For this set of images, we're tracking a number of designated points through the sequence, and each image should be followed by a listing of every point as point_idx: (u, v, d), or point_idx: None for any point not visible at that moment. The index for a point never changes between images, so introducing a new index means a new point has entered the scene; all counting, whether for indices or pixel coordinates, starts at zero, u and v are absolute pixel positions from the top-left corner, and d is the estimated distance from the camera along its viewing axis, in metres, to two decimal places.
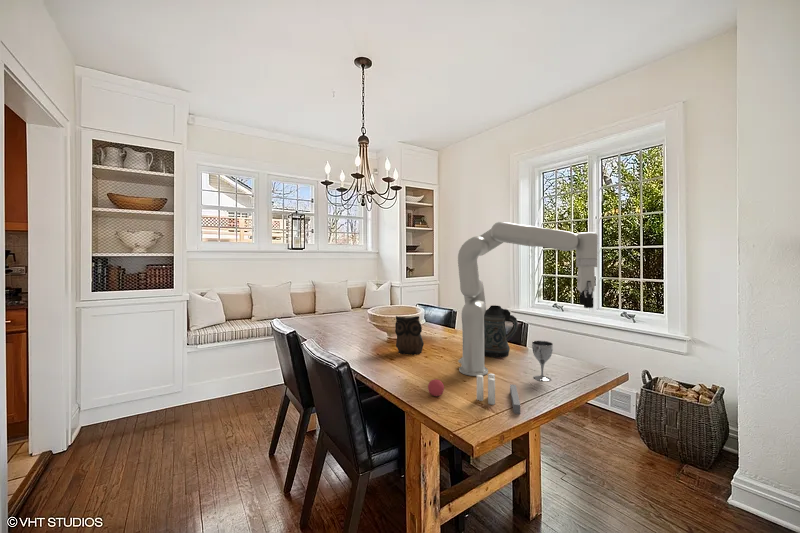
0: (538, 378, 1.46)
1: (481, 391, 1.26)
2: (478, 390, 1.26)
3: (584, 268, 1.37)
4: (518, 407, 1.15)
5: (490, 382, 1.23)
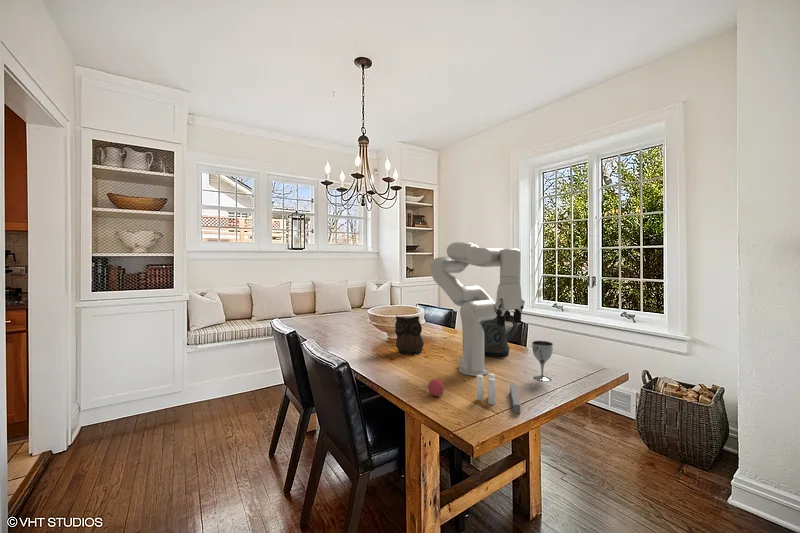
0: (538, 378, 1.46)
1: (481, 391, 1.26)
2: (478, 390, 1.26)
3: (499, 285, 1.35)
4: (518, 407, 1.15)
5: (490, 382, 1.23)
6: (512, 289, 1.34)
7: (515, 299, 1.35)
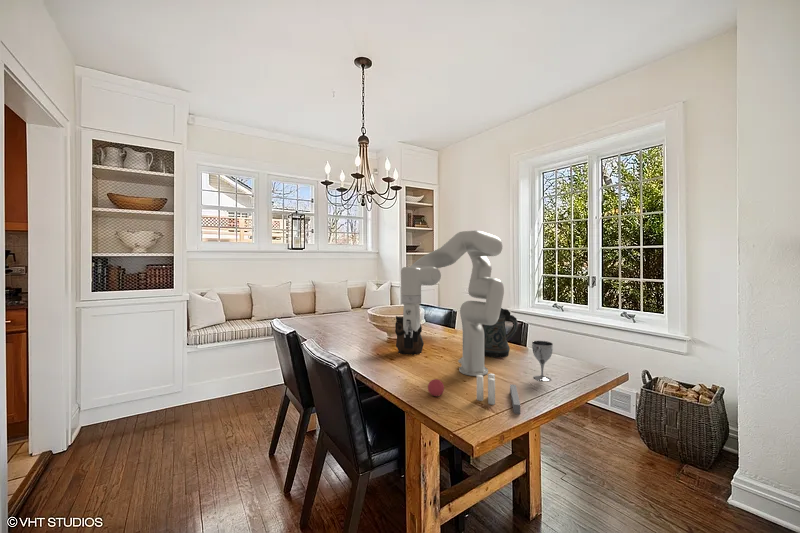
0: (538, 378, 1.46)
1: (481, 391, 1.26)
2: (478, 390, 1.26)
3: None
4: (518, 407, 1.15)
5: (490, 382, 1.23)
6: None
7: None
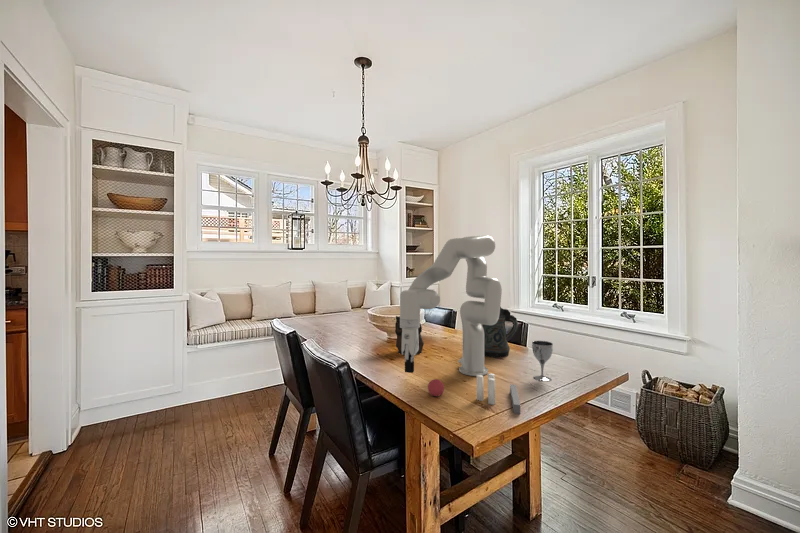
0: (538, 378, 1.46)
1: (481, 391, 1.26)
2: (478, 390, 1.26)
3: None
4: (518, 407, 1.15)
5: (490, 382, 1.23)
6: None
7: None
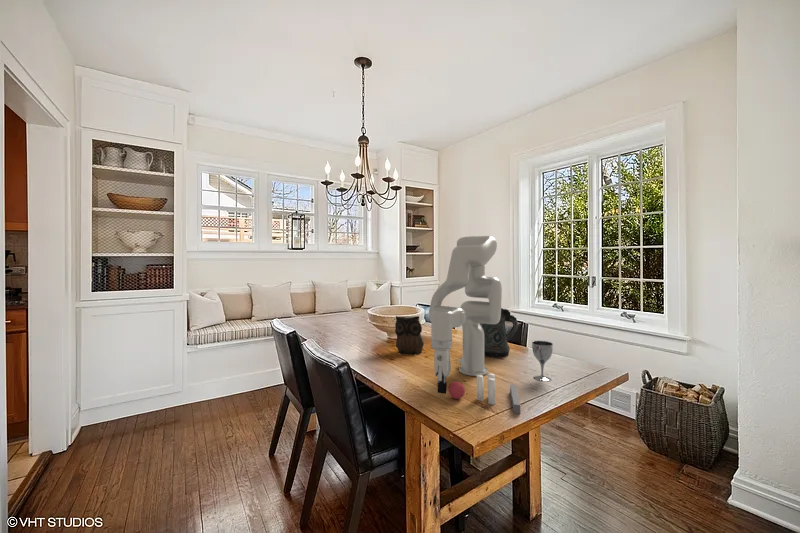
0: (538, 378, 1.46)
1: (481, 391, 1.26)
2: (478, 390, 1.26)
3: None
4: (518, 407, 1.15)
5: (490, 382, 1.23)
6: None
7: None
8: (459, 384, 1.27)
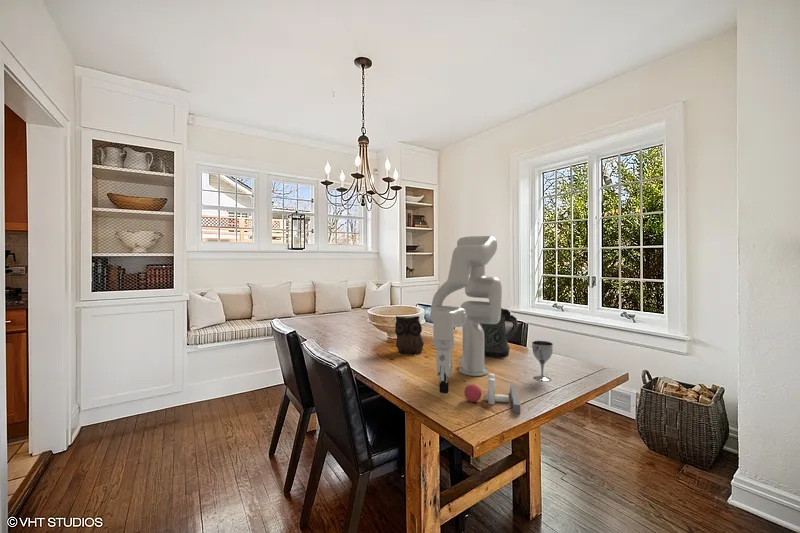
0: (538, 378, 1.46)
1: None
2: None
3: None
4: (518, 407, 1.15)
5: (490, 382, 1.23)
6: None
7: None
8: None
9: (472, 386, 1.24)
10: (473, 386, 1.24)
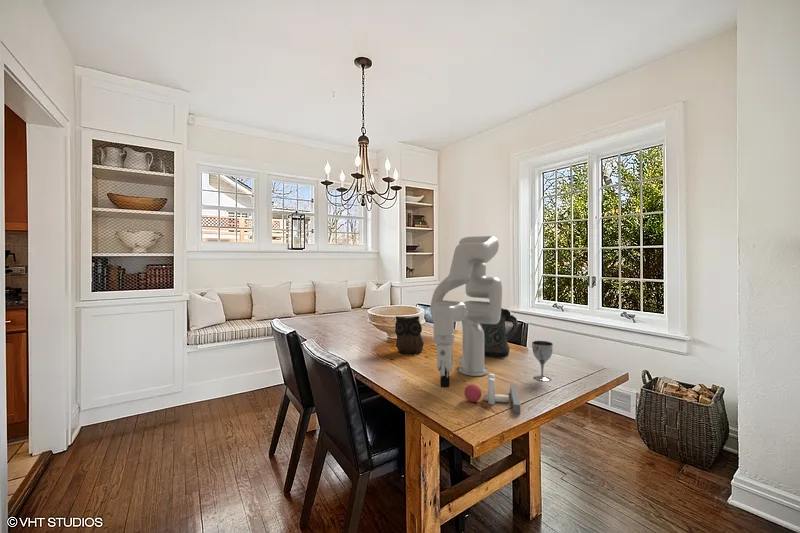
0: (538, 378, 1.46)
1: None
2: None
3: None
4: (518, 407, 1.15)
5: (490, 382, 1.22)
6: None
7: None
8: None
9: (472, 386, 1.24)
10: (473, 386, 1.24)
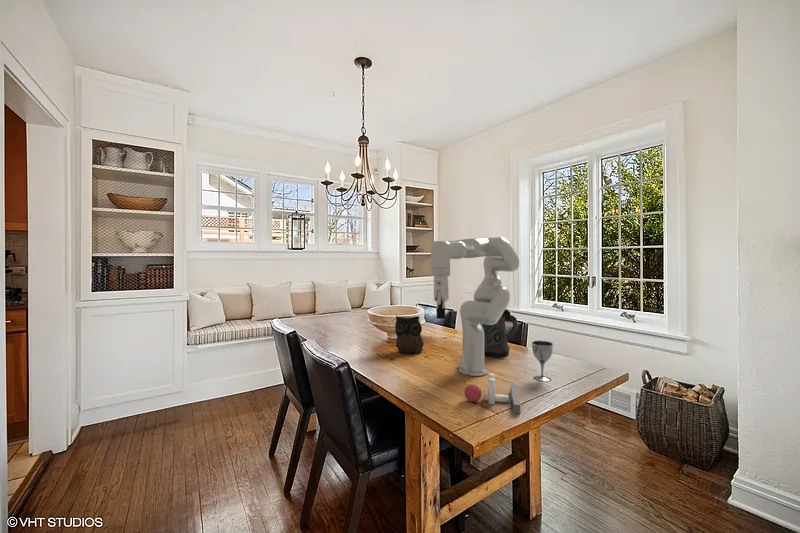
0: (538, 378, 1.46)
1: None
2: None
3: None
4: (518, 407, 1.15)
5: (490, 382, 1.22)
6: None
7: None
8: None
9: (472, 386, 1.24)
10: (473, 386, 1.24)
